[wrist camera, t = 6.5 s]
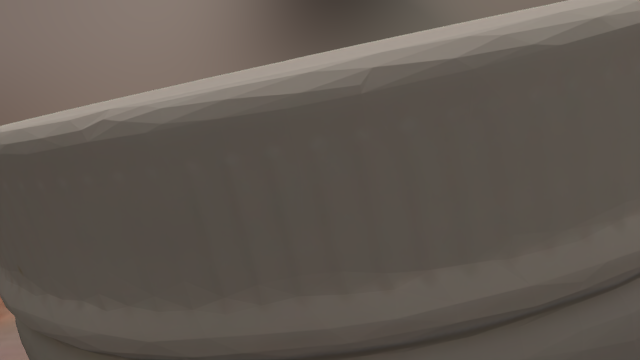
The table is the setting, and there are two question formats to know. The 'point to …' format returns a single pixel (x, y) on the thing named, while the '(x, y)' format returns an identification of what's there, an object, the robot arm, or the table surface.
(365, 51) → the supplement tub
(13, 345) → the table surface
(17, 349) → the table surface
